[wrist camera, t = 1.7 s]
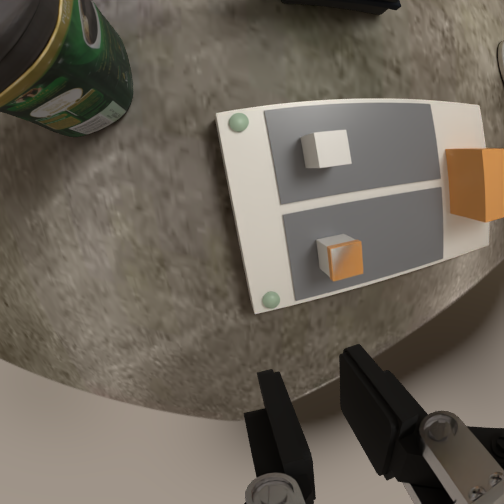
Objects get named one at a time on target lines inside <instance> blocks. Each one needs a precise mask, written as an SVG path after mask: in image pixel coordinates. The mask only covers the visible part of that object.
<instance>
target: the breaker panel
mask: <svg viewBox="0 0 504 504" xmlns="http://www.w3.org/2000/svg"><path fill="white" fill-rule="evenodd" d="M215 122H216V127H217V132H218V138H219V143H220V148H221V154H222V159H223V164H224V169H225V175H226V180H227V185H228V190H229V195H230V200H231V206H232V211H233V216H234V221H235V226H236V231H237V236H238V241H239V246H240V251H241V256H242V261H243V266H244V271H245V276H246V281H247V286H248V291H249V296H250V301H251V304H252V307H253V310H254V313H255V314H258V313H262V312H267V311H271V310H275V309H279V308H283V307H287V306H291V305H295V304H299V303H303V302H307V301H311V300H315V299H319V298H322V297H326V296H330V295H334V294H337V293H341V292H345V291H348V290H352V289H355V288H359V287H362V286H366V285H369V284H373V283H376V282H379V281H383V280H386V279H389V278H393V277H396V276H399V275H402V274H406V273H409V272H412V271H415V270H418V269H421V268H424V267H428V266H431V265H434V264H437V263H440V262H443V261H446V260H449V259H451V258H454V257H457V256H460V255H463V254H466V253H469V252H471V251H474V250H477V249H480V248H482V247H485V246H488V245H489V228H490V222H486V223H485V222H481V221H478V220H474V219H470V218H466V217H462V216H459V215H455V214H451V213H450V195H449V180H448V169H447V159H446V151H445V149H456V148H486V145H485V137H484V130H483V124H482V118H481V112H480V107H479V105H473V104H465V103H456V102H445V101H433V100H417V99H336V100H318V101H305V102H294V103H284V104H275V105H267V106H259V107H252V108H245V109H238V110H232V111H226V112H220V113H216V116H215ZM335 130H346V132H347V137H348V143H349V149H350V156H351V162H352V164H346V165H338V166H331V167H324V168H306V167H305V161H304V155H303V149H302V144H301V138H300V137H302V136H305V135H308V134H311V133H315V132H324V131H335ZM340 234H345V235H347V236H349V237H351V238H353V239H356V240H357V239H358V240H360V241H361V244H362V258H363V274H360V275H356V276H352V277H348V278H345V279H341V280H337V281H332V280H331V279H330V277H329V276H328V275H327V274H326V273H325V272H323V271H322V270H321V269H320V267H319V259H318V250H317V242H316V240H317V239H321V238H326V237H331V236H335V235H340Z"/></svg>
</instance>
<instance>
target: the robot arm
mask: <svg viewBox="0 0 504 504" xmlns="http://www.w3.org/2000/svg"><path fill="white" fill-rule="evenodd" d="M498 61H499V67H500V71H501V75H502V78H503V81H504V41H501V43H500V44H499V47H498ZM339 362H340V404H341V410H342V412H343V414H344V416H345V418H346V419H347V421H348V423H349V425H350V426H351V428H352V430H353V432H354V434H355V435H356V437H357V439H358V441H359V442H360V444H361V446H362V448H363V449H364V451H365V453H366V455H367V456H368V458H369V460H370V462H371V463H372V465H373V467H374V469H375V471H376V472H377V473H378V475H379V476H381V475H384V477H385V478H386V480H389V479H391V478H393V477H395V478H396V479H397V481H398V482H403V485H404V487H405V489H406V490H407V492H408V494H409V495H410V497H411V499H412V501H413V503H414V504H504V428H482V427H469V426H466V425H465V424H464V423H463V422H462V421H461V420H460V418H459V417H457V416H456V415H455V414H453V413H451V412H448V411H437V412H433V413H430V414H429V415H428V414H427V413H426V412H425V411H424V409H423V408H422V407H421V406H420V405H419V404H418V402H417V401H416V400H415V399H414V398H413V397H412V396H411V394H410V393H409V392H408V391H407V390H406V389H405V387H404V386H403V385H402V384H401V383H400V382H399V381H398V379H396V377H395V376H394V375H393V374H392V373H391V372H390V371H388V370H386V371H382V370H381V368H380V367H379V366H378V365H377V364H376V363H375V361H374V360H373V359H372V358H371V357H370V356H369V354H368V353H367V352H366V351H365V350H364V349H363V347H362V346H361V345H360V344H357V345H354V346H351V347H348V348H345V349H344V351H343V353H342V354H340V356H339ZM257 376H258V380H259V384H260V389H261V393H262V397H263V401H264V406H265V409H260V410H256V411H251V412H247V413H244V417H245V422H246V428H247V432H248V438H249V443H250V447H251V453H252V458H253V462H254V467H255V472H256V477H257V478H256V479H254V480H253V481H252V482H251V483H250V484H249V485H248V487H247V490H246V492H245V498H246V502H245V503H244V504H314V501H313V500H315V499H316V497H315V485H314V472H313V461H312V457H311V452H310V449H309V447H308V444H307V441H306V439H305V436H304V434H303V431H302V429H301V426H300V423H299V421H298V418H297V416H296V413H295V411H294V408H293V405H292V403H291V400H290V398H289V395H288V392H287V390H286V387H285V385H284V382H283V379H282V377H281V374H280V372H275V373H274V372H273V370H272V369H270V370H266V371H262V372H258V373H257Z"/></svg>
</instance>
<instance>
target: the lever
mask: <svg viewBox="0 0 504 504" xmlns="http://www.w3.org/2000/svg"><path fill="white" fill-rule="evenodd" d="M300 138H301V144H302V149H303V155H304V161H305V167H306V168H324V167H331V166H338V165H346V164H352V162H351V156H350V149H349V143H348V137H347V132H346V130H335V131H324V132H315V133H311V134H308V135H305V136H302V137H300Z"/></svg>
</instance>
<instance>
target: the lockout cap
mask: <svg viewBox="0 0 504 504" xmlns="http://www.w3.org/2000/svg"><path fill="white" fill-rule="evenodd" d="M445 151H446V159H447V169H448V180H449V195H450V213H451V214H455V215H459V216H462V217H466V218H470V219H474V220H478V221H481V222H485V223H486V222H490V221H493V220H496V219H500V218H503V217H504V148H456V149H445Z"/></svg>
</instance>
